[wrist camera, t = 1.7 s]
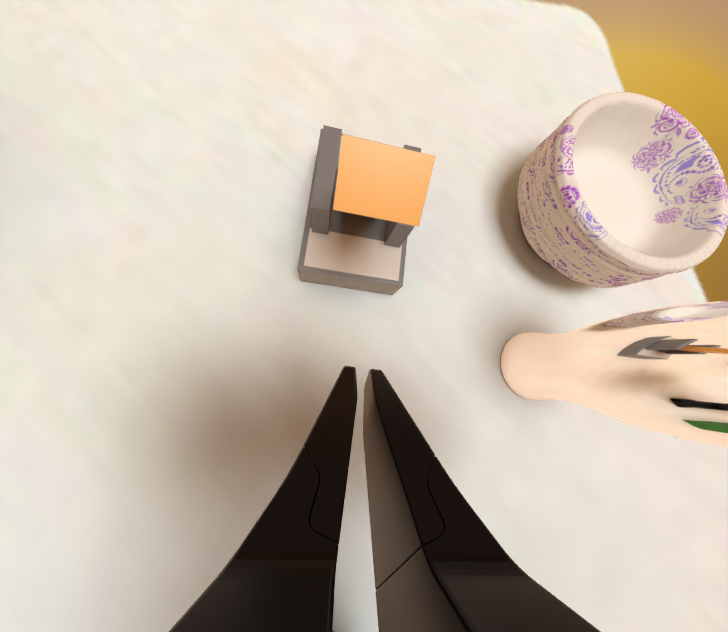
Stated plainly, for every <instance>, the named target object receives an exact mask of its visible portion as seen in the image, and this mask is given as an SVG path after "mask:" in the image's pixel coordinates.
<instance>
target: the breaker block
mask: <svg viewBox="0 0 728 632" xmlns="http://www.w3.org/2000/svg"><path fill="white" fill-rule="evenodd" d="M341 133H342V129H337V128H333V127H329V126H325V125H324V128H323V129H321V133H320V139H319V145H318V151H317V157H316V163H315V169H314V175H313V181H312V187H311V193H310V199H309V205H308V211H307V217H306V223H305V229H304V235H303V241H302V247H301V253H300V259H299V265H298V272H299V276H300V280H301V281H306V282H312V283H319V284H325V285H331V286H338V287H344V288H351V289H357V290H363V291H370V292H376V293H382V294H389V295H393V294H394V293H395V292H396V291H398V290H399V289H400V288H401V287H402V286H403V276H404V265H405V255H406V244H407V236H408V235H409V234H410V232H411V231H412V229H413V228H414V226H413V225H407V224H402V223H397V222H392V221H387V220H382V219H377V218H372V217H366V216H361V215H356V214H351V213H346V212H341V211H336V210H333V206H334V198H335V190H336V183H337V175H338V168H339V160H340V153H341V145H342V138H343V134H341ZM344 135H345V134H344ZM357 138H358V137H357ZM361 139H362V138H361ZM365 140H366V139H365ZM378 143H379V142H378ZM382 144H383V143H382ZM386 145H387V144H386ZM399 148H400V147H399ZM403 149H407V150H412V151H416V152H420V153H421V148H416V147H412V146H408V145H404V148H403Z"/></svg>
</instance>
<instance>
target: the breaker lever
mask: <svg viewBox="0 0 728 632" xmlns="http://www.w3.org/2000/svg"><path fill="white" fill-rule="evenodd" d="M434 161H435V156H432V155H428V154H424V153H420V152H416V151H412V150H407V149H403V148H399V147H395V146H391V145H386V144H382V143H378V142H374V141H370V140H365V139H361V138H357V137H353V136H349V135H344V134H343V138H342V145H341V153H340V160H339V168H338V175H337V183H336V190H335V198H334V206H333V210H336V211H341V212H346V213H351V214H356V215H361V216H366V217H372V218H377V219H382V220H387V221H392V222H397V223H402V224H407V225H413V226H419V223H420V219H421V214H422V210H423V206H424V202H425V198H426V194H427V190H428V185H429V181H430V177H431V173H432V169H433V165H434Z"/></svg>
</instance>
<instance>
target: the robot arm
mask: <svg viewBox="0 0 728 632" xmlns="http://www.w3.org/2000/svg"><path fill="white" fill-rule="evenodd" d="M356 404H357V382H356V369H355V367H350V366H344V367H343V369H342V371H341V373H340V375H339V377H338V379H337V381H336V383H335V385H334V387H333V389H332V391H331V393H330V395H329V397H328V398H327V400H326V402H325V404H324V406H323V408H322V410H321V412H320V414H319V416H318V418H317V420H316V422H315V424H314V426H313V428H312V430H311V432H310V434H309V436H308V438H307V440H306V441H305V443H304V445H303V448H302V449H301V451H300V453H299V455H298V457H297V459H296V461H295V462H294V464H293V466H292V468H291V470H290V471H289V473H288V475H287V477H286V478H285V480H284V481H283V483H282V485H281V486H280V488H279V489H278V491H277V493H276V494H275V496H274V497H273V499H272V500H271V502H270V503H269V505H268V506H267V508H266V509H265V511H264V512H263V513H262V515H261V516H260V518H259V519H258V521H257V522H256V524H255V525H254V527H253V528H252V530H251V531H250V533H249V534H248V536H247V537H246V539H245V540H244V542H243V543H242V545H241V546H240V547H239V549H238V550H237V552H236V553H235V554H234V556H233V557H232V558H231V560H230V561H229V562H228V564H227V565H226V566H225V568H224V569H223V570H222V572H221V573H220V574H219V575H218V577H217V578H216V579H215V580H214V581H213V582H212V583H211V585H210V586H209V587H208V588H207V589H206V590H205V591H204V592H203V594H202V595H201V596H200V597H199V598H198V599H197V600H196V602H195V603H194V604H193V605H192V606H191V607H190V608H189V609H188V611H187V612H186V613H185V614H184V615H183V616H182V617H181V619H180V620H179V621H178V622H177V623H176V624H175V625H174V626H173V628H172V629H171V630H170V631H169V632H332V624H333V605H334V586H335V573H336V563H337V554H338V544H339V538H340V530H341V522H342V514H343V507H344V499H345V491H346V483H347V475H348V467H349V459H350V452H351V444H352V436H353V428H354V420H355V412H356ZM363 438H364V451H365V463H366V476H367V488H368V501H369V513H370V525H371V538H372V550H373V563H374V575H375V588H376V601H377V614H378V626H379V632H600V631H599V630H598V629H596V628H595V627H594V626H593V625H591V624H590V623H589V622H587V621H586V620H585V619H584V618H582V617H581V616H580V615H578V614H577V613H576V612H574V611H573V610H572V609H571V608H569V607H568V606H567V605H565V604H564V603H563V602H561V601H560V600H559V599H558V598H556V597H555V596H554V595H552V594H551V593H550V592H549V591H547V590H546V589H545V588H543V587H542V586H541V585H539V584H538V583H537V582H536V581H534V580H533V579H532V578H531V577H529V576H528V575H527V574H526V573H525V572H524V571H523V570H522V569H521V568H520V567H519V566H518V565H517V564H516V563H515V562H514V561H513V560H512V559H511V558H510V557H509V556H508V554H507V553H506V552H505V551H504V549H503V548H502V547H501V546H500V544H499V543H498V542H497V540H496V539H495V538H494V537H493V535H492V534H491V533H490V531H489V530H488V529H487V527H486V526H485V525H484V523H483V522H482V521H481V519H480V518H479V517H478V516H477V514H476V513H475V512H474V510H473V509H472V508H471V506H470V505H469V504H468V502H467V501H466V500H465V498H464V497H463V496H462V494H461V493H460V491H459V490H458V489H457V487H456V486H455V485H454V483H453V482H452V480H451V479H450V477H449V476H448V474H447V473H446V471H445V470H444V468H443V467H442V465H441V463H440V462H439V460H438V459H437V457H434V456H435V454H434V452H433V451H432V449H431V448H430V446H429V445H428V443H427V441H426V440H425V438H424V437H423V435H422V433H421V432H420V430H419V429H418V427H417V426H416V424H415V422H414V421H413V419H412V418H411V416H410V415H409V413H408V411H407V410H406V408H405V407H404V405H403V403H402V402H401V400H400V399H399V397H398V396H397V394H396V392H395V391H394V389H393V388H392V386H391V385H390V383H389V381H388V380H387V378H386V377H385V375H384V373H383V372H382V371H381V370H376V369H371V370H370V371H369V373H368V377H367V380H366V383H365V389H364V415H363Z"/></svg>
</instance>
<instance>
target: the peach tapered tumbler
mask: <svg viewBox="0 0 728 632" xmlns="http://www.w3.org/2000/svg"><path fill="white" fill-rule="evenodd" d="M501 370H502V374H503V377H504V379H505V381H506V383H507V384H508V386H509V387H510V388H511V389H512V390H513V391H514V392H515V393H516V394H518V395H520V396H522V397H524V398H527V399H533V400H545V399H557V400H563V401H568V402H572V403H574V404H577V405H580V406H583V407H586V408H588V409H591V410H594V411H596V412H599V413H602V414H604V415H607V416H610V417H613V418H615V419H618V420H621V421H623V422H626V423H629V424H633V425H636V426H639V427H642V428H645V429H648V430H651V431H654V432H658V433H662V434H666V435H670V436H674V437H678V438H682V439H686V440H690V441H695V442H700V443H705V444H710V445H715V446H720V447H725V448H728V301H718V302H706V303H697V304H689V305H680V306H672V307H665V308H660V309H654V310H648V311H642V312H637V313H633V314H629V315H625V316H621V317H616V318H613V319H609V320H606V321H602V322H599V323H596V324H592V325H589V326H586V327H582V328H579V329H576V330H572V331H569V332H565V333H559V334H544V333H535V332H525V333H520V334H518V335H515V336H514V337H512V338H511V339H510V340H509V341H508V342H507V343H506V345H505V347H504V349H503V351H502V355H501Z"/></svg>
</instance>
